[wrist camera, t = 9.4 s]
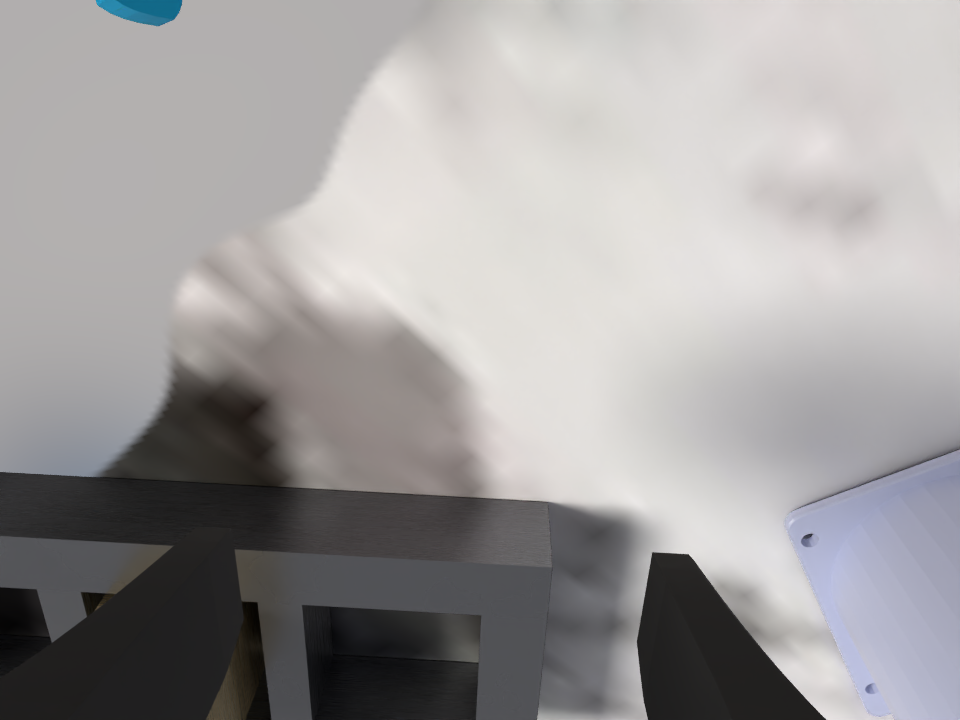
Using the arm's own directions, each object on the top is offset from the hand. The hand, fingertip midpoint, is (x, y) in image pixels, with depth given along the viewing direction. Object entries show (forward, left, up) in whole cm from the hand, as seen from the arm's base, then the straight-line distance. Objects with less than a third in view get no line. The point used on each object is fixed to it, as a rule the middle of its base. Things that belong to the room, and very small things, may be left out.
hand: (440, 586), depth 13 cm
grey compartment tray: (-4, +12, -9) cm, 16 cm away
